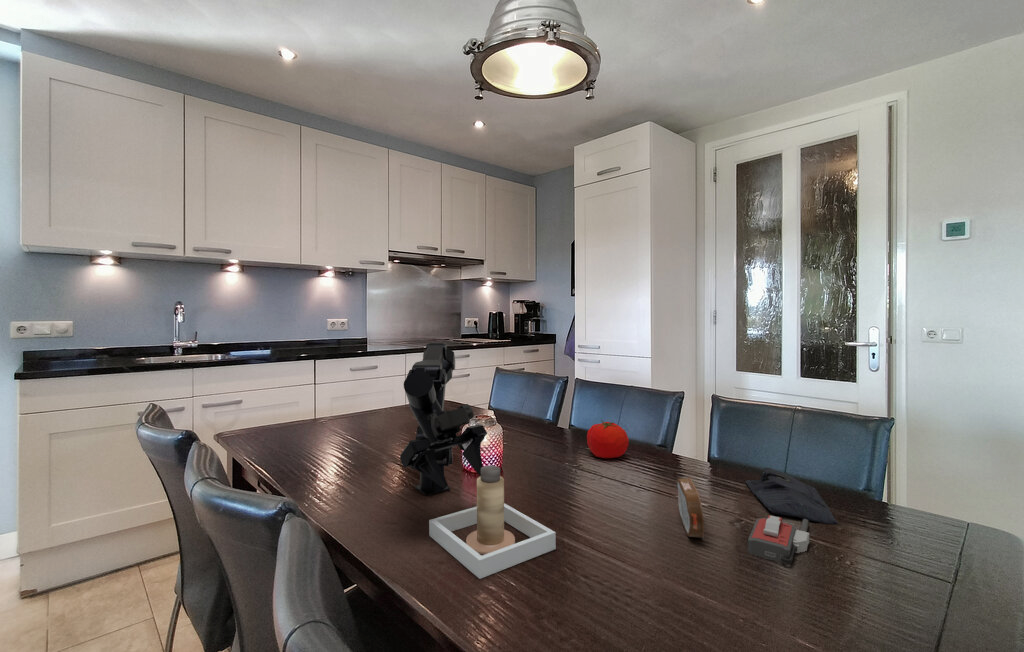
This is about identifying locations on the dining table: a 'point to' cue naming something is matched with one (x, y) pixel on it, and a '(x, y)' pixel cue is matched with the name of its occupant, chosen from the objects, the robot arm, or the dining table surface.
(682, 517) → the tin
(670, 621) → the dining table surface
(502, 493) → the pepper mill
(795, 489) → the dark folded cloth
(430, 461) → the robot arm
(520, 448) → the dining table surface
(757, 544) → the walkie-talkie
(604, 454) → the tomato
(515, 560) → the white square frame
